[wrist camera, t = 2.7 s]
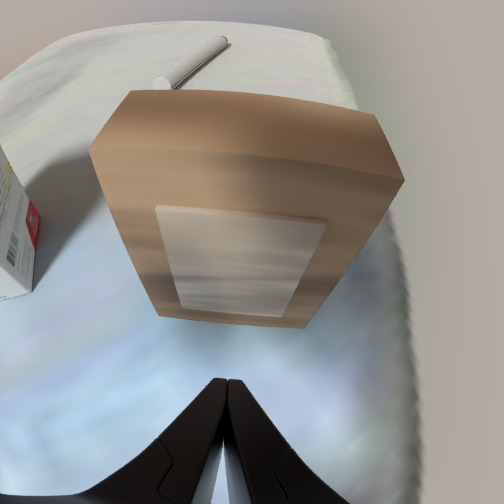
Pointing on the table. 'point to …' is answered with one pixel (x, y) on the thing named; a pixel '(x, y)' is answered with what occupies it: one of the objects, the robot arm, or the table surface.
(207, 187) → the brown cardboard box
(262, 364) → the table surface
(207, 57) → the tube
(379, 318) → the table surface
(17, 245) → the ink box
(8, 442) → the table surface
